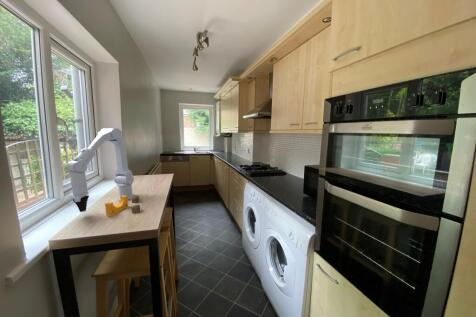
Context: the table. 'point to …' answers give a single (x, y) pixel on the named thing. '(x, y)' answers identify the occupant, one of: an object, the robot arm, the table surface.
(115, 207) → the pipe clamp
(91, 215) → the table surface
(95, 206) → the table surface
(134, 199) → the post
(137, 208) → the post
